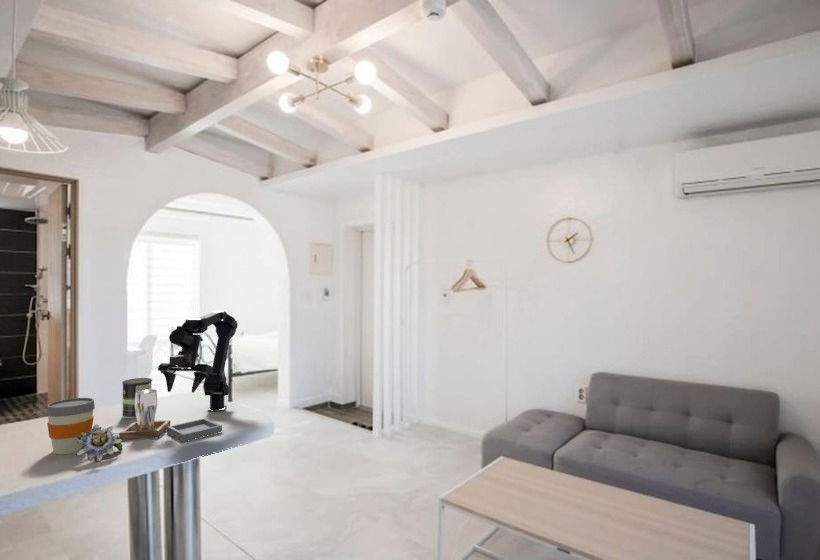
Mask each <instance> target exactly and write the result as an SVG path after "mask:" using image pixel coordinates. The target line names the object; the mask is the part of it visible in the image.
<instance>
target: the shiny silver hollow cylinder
mask: <svg viewBox="0 0 820 560" xmlns="http://www.w3.org/2000/svg"><path fill="white" fill-rule="evenodd" d="M157 391H158V390H157V389H154V388H151V389H146V390H140V391H137V392H136V394H135V413H136V418H135V419H136V422H137V430H136V431H145V430H156V429H155V425H154V421H156V420H155V419H156V414H157V409H158V392H157Z"/></svg>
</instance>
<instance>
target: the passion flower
mask: <svg viewBox="0 0 820 560" xmlns="http://www.w3.org/2000/svg"><path fill="white" fill-rule="evenodd" d="M113 429H114V426H112V425H111V426H109V427H106V428H102V426H100V425H99V424H96V423H95V424H94V425H93V426H92V430H90V431H89V432H87V433H81V434H80V435H81V436H80V437H79V436H78V435H77V438H78V439H79V441H77V443H79V444H82V448H81V449H79V450H78V451H77V452H74V453H75V456H81V455H83V454H85V453H86V455H87V460H88V461H89V462H90V461H92V460H93V459H95V460H96V462H97V463H98V462H101V461H102V459H103V457H104V454H108V455H113V454H114V447H115V448H116V449H117V450H118V451H119V453H121V452H122V450H123V444H122V443H123V440H121V439H120V438H119V433H120V432H113ZM84 435H85V436H84ZM81 437H82V439H81Z"/></svg>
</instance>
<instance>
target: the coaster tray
mask: <svg viewBox="0 0 820 560" xmlns="http://www.w3.org/2000/svg"><path fill="white" fill-rule="evenodd" d="M221 431H222V432H223V425H222V424H219V423H217V422H215V421H212V420H210V419H208V418H206V417H204V418H198V419H195V420H190V421H186V422H182V423H178V424H171V425H170V426H168V427H167V431H166V434H167V435H169V436H170V435H171V436H170V437H172V438H174V439H176V440H178V441H180V442H181V443H185V442H186V441H187V442H189V441H188V440H191V439H194V440H196V439H195V438H198V439H201V438H200V437H202V438H204V437H203V436H206V437H208V436H207V435H210V436H212V435H211V434H214V433H218V432H221ZM218 434H219V433H218ZM214 435H215V434H214ZM191 441H192V440H191Z"/></svg>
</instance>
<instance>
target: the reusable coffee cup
mask: <svg viewBox="0 0 820 560" xmlns="http://www.w3.org/2000/svg"><path fill="white" fill-rule="evenodd" d="M46 406H47V408H46V412H45V413H46V416H47V421H48V422H47V423H46V424H47V431H48V437H49V438H50V440H51V445H52V453H53V452H54V453H53V454H55V455H65V454H67V453H68V454H74V453H76V452H77V451H78V450H79V449H81V448H82V444H79V443H77V441H79V439H78V438H77V435H78V436H79V437H80V436H81V435H80V434H81V433H87V432H89V431H90V430H92V429H93V426H94V425H93V424H94V418H95V417H94V415H93V413H94V410H95V408H96V406H95V399H94V398H92V397H75V398H67V399H61V400H57V401H56V400H55V401H53V402H50V403H49V404H47V405H46ZM84 436H85V435H84ZM81 439H82V437H81ZM73 452H74V453H73ZM68 454H67V455H68Z"/></svg>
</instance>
